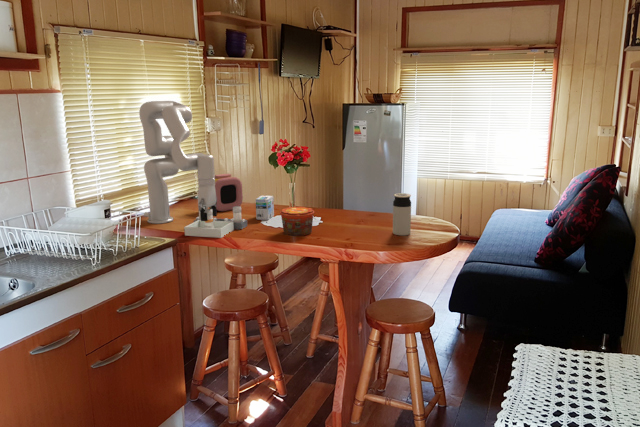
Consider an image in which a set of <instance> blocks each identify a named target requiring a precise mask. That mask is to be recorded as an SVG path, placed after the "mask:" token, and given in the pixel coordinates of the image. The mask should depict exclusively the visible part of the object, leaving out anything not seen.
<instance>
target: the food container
mask: <svg viewBox="0 0 640 427" xmlns="http://www.w3.org/2000/svg"><path fill="white" fill-rule="evenodd" d="M314 214H315V210H313V208H312V207H305V206H290V207H285V208H282V209H281V210H280V212H279V215H281V222H282V223H281V224H282V228H283V234H284V235H286V236H291V237H300V236H301V237H303V236H307V235H310V234H311V233H312V232H313V231H312V230H313V219H314Z"/></svg>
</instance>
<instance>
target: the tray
mask: <svg viewBox="0 0 640 427" xmlns="http://www.w3.org/2000/svg"><path fill="white" fill-rule="evenodd" d="M213 225H214V228H205V221H201V220H197V221H195V222H194V221H193V222H192V223H190V224H188V225H186V226H184V227H183V228H184V236H186V237H187V236H189V237H202V238H217V239H218V238H219V239H221V238H223V237H225V236H226V234H227V235H228V234H229V232H230V233H232V232H233V231H234V230H235V229H234V225H233V222H228V221H213ZM224 235H225V236H224Z"/></svg>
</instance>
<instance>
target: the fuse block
mask: <svg viewBox="0 0 640 427" xmlns="http://www.w3.org/2000/svg"><path fill="white" fill-rule="evenodd" d="M241 219H242V220H241V223H234V219H233V218H228V217H226V218H217V217H213V221H228V222H233V225H234V230H240V229H242V230H244V229H245V228H246V227H248V219H245V218H241ZM197 220H199V216H197V217H195V219H194V220H193V222H195V221H197ZM243 228H244V229H243Z"/></svg>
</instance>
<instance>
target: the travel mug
mask: <svg viewBox="0 0 640 427" xmlns="http://www.w3.org/2000/svg"><path fill="white" fill-rule="evenodd" d="M393 196H394V199H393V201H392V202H393V203H392V206H393V207H392V208H393V209H392V233H393V234H394V235H396V236H408V235H410V234H411V228H412V227H411V220H412V219H411V218H412V201H411V196H412V195H411V194H410V193H401V192H400V193H395V194H393Z"/></svg>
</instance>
